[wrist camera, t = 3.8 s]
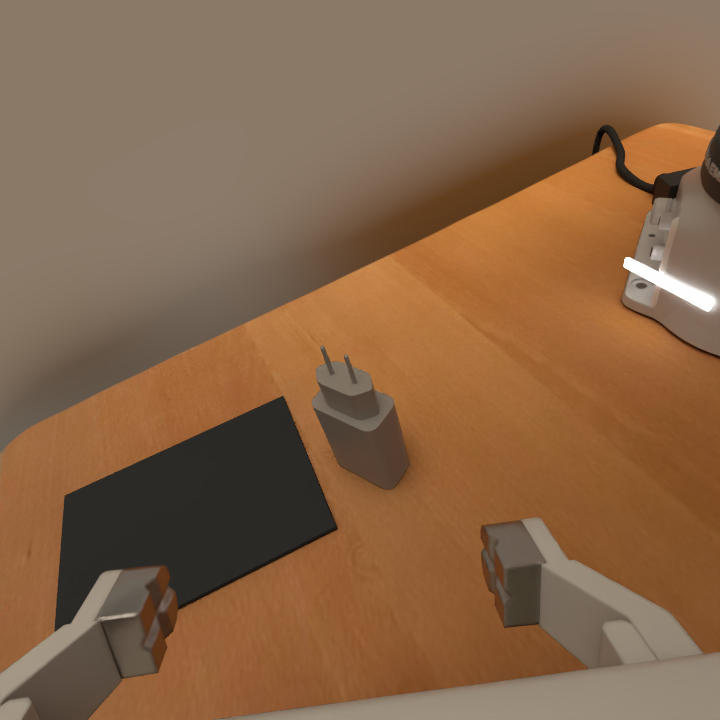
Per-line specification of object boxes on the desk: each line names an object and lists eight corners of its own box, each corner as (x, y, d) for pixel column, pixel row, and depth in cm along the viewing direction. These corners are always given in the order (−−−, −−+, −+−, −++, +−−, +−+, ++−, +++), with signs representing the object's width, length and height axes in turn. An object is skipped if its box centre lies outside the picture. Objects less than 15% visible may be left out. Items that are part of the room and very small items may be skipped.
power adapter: (356, 432, 39) (316, 323, 31) (413, 459, 36) (385, 346, 28) (333, 462, 37) (284, 355, 29) (390, 492, 35) (354, 383, 26)
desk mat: (284, 398, 43) (282, 395, 43) (337, 528, 33) (336, 526, 33) (67, 497, 41) (64, 495, 40) (55, 671, 31) (51, 670, 31)
